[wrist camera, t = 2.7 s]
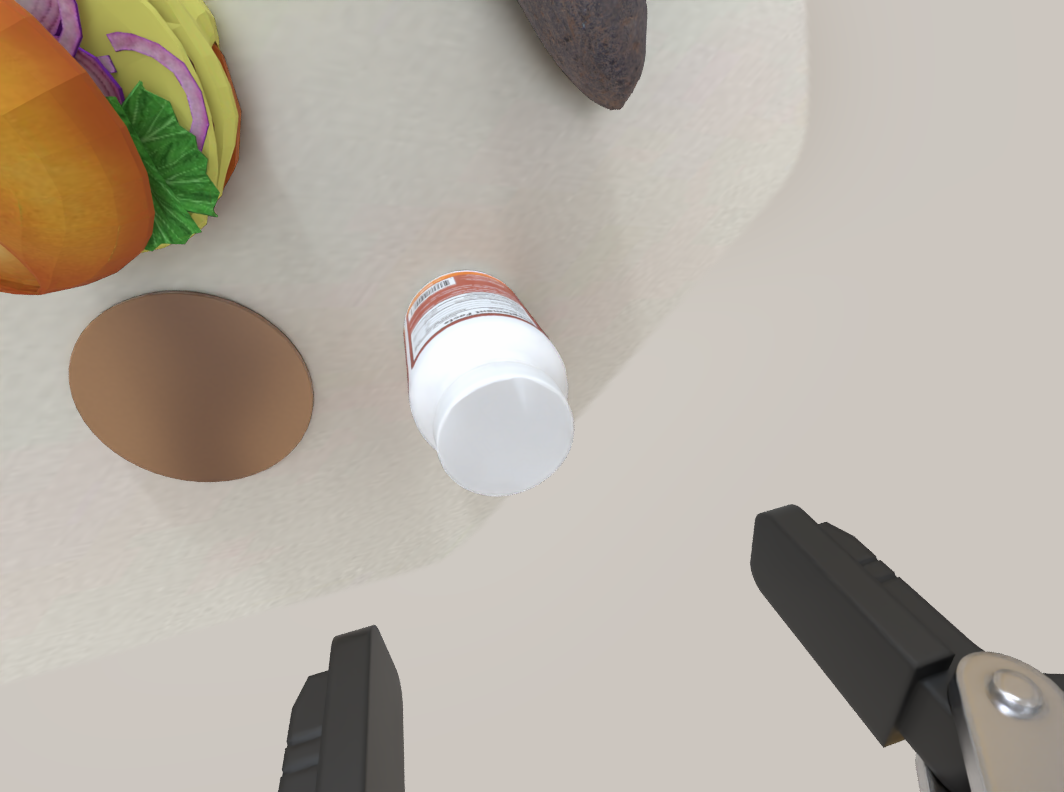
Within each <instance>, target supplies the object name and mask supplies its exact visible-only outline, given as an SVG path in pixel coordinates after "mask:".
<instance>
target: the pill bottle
mask: <svg viewBox="0 0 1064 792" xmlns="http://www.w3.org/2000/svg"><path fill="white" fill-rule="evenodd" d="M404 343H405V353H406V365H407V378H408V394H409V402H410V407H411V411H412V415H413V418H414V420H415V423H416V425H417V427H418V429H419V431H420V433H421V434H422V436H423V437H424V439H425V440H426V441H427V442H428V443H429V444H430V445H431V446H432V447H433V448H434V449H435V450H436V451H437V453H438V457H439V460H440V462H441V464H442V466H443V468H444V470H445V471H446V473H447V474H448V475H449V477H450V478H451V479H452V480H453V481H455V482H456V483H457V484H459V485H460V486H461V487H463V488H465V489H467V490H469V491H471V492H474V493H477V494H481V495H486V496H508V495H513V494H517V493H521V492H524V491H527V490H529V489H531V488H533V487H535V486H537V485H539V484H541V483H542V482H543V481H545V480H546V479H547V478H549V477H550V476H551V475H552V474H553V473H554V472H555V471H556V470H557V469H558V468H559V467H560V466H561V464H562V463H563V461H564V460H565V459H566V457H567V455H568V453H569V451H570V448H571V445H572V442H573V437H574V419H573V415H572V411H571V408H570V406H569V404H568V402H567V400H568V379H567V374H566V369H565V366H564V363H563V360H562V358H561V356H560V354H559V353H558V351H557V350H556V348H555V347H554V345H553V344H552V342H551V341H550V339H549V338H548V337H547V336H546V334H545V333H544V332H543V330H542V329H541V328H540V326H539V325H538V324H537V323H536V321H535V320H534V319H533V317H532V316H531V315H530V313H529V312H528V311H527V309H526V308H525V307H524V306H523V304H522V303H521V302H520V300H519V299H518V298H517V296H516V295H515V294H514V293H513V291H512V290H511V289H510V288H509V287H508V286H506V285H505V284H504V283H503V282H501V281H500V280H498V279H497V278H495V277H493V276H491V275H488V274H485V273H482V272H478V271H470V270H463V271H454V272H450V273H447V274H444V275H441V276H439V277H437V278H435V279H433V280H431V281H430V282H429V283H427V284H426V285H425V286H424V287H423V288H421V289H420V290H419V292H418V293H417V294H416V295H415V297H414V298H413V300H412V301H411V303H410V305H409V307H408V310H407V313H406V316H405V322H404Z"/></svg>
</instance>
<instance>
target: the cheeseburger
mask: <svg viewBox="0 0 1064 792" xmlns="http://www.w3.org/2000/svg"><path fill="white" fill-rule="evenodd" d="M240 125H241V109H240V105H239V102H238V99H237V96H236V93H235V89H234V86H233V83H232V80H231V77H230V73H229V70H228V67H227V64H226V61H225V57H224V55H223V54H222V53H221V51H220V48H219V37H218V32H217V27H216V23H215V18H214V17H213V15H212V14H211V12H210V11H209V9H208V8H207V6H206V5H205V3H204V2H203V0H0V292H5V293H11V294H23V295H42V294H47V293H51V292H56V291H61V290H65V289H70V288H74V287H79V286H83V285H87V284H90V283H93V282H95V281H98V280H100V279H102V278H105V277H107V276H109V275H112V274H114V273H117V272H118V271H119V270H121V269H122V268H123V267H124V266H125V265H127V264H128V263H129V262H130V261H132V260H133V259H134V258H135V257H136V256H138V255H139V254H140V253H143V252H147V251H153V250H156V249H161V248H164V247H167V246H169V245H171V244H185V243H186V242H187V241H188V239H189V238H191V237H192V236H193V235H194V234H196V233H200V232H202V231H201V230H200V229H202V228H203V227H204V226H205V225H206V224H207V218H208V216H213V217H218V215H217V214H216V213H215V212H214V207H215V205H216V202H217V200H218V199H219V198H220V197H221V196H222V192H223V189H224V187H225V186H226V184H227V182H228V180H229V178H230V176H231V175H232V173H233V171H234V169H235V167H236V164H237V162H238V160H239V144H240Z"/></svg>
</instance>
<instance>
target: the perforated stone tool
mask: <svg viewBox="0 0 1064 792" xmlns="http://www.w3.org/2000/svg"><path fill="white" fill-rule="evenodd" d="M517 1H518V3H519V4H520V6H521V8H522V9H523V11H524V13H525V15H526V16H527V18H528V20H529V22H530V23H531V25H532V27H533V29H534V30H535V32H536V34H537V35H538V37H539V39H540V40H541V42H542V43H543V45H544V46H545V48H546V50H547V51H548V52H549V54H550V55H551V56H552V58H553V59H554V61H555V62H556V63H557V64H558V66H559V67H560V68H561V70H562V71H563V72H564V73H565V74H566V75H567V76H568V77H569V79H570V80H571V81H572V82H573V83H574V84H575V85H576V86H577V87H578V88H579V89H580V90H581V91H582V92H583V93H584V94H585V95H586V96H587V97H588V98H590V99H591V100H592V101H594V102H595V103H597V104H599V105H600V106H603V107H605V108H607V109H610V110H614V109H615V110H616V109H617V110H618V109H621V108H622V107H623V106H624V104H625V102H626V101H627V100H628V98H629V97H630V95H631V93H632V92H633V90H634V88H635V86H636V84H637V82H638V80H639V79H640V76H641V73H642V70H643V66H644V61H645V54H646V30H647V4H646V0H517Z"/></svg>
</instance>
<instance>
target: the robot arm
mask: <svg viewBox="0 0 1064 792" xmlns="http://www.w3.org/2000/svg"><path fill="white" fill-rule="evenodd" d="M750 565H751V571H752V575H753V578H754V580H755V582H756V584H757V586H758V588H759V590H760V591H761V593H762V594H763V595H764V596H765V598H766V599H767V600H768V602H769V603H770V604H771V605H772V607H773V608H774V609H775V610H776V612H777V613H778V614H779V615H780V617H781V618H782V619H783V621H784V622H785V623H786V624H787V626H788V627H789V628H790V629H791V631H792V632H793V633H794V634H795V636H796V637H797V638H798V640H799V641H800V642H801V643H802V645H803V646H804V647H805V649H806V650H807V651H808V652H809V654H810V655H811V656H812V657H813V658H814V660H815V661H816V662H817V664H818V665H819V666H820V667H821V669H822V670H823V671H824V673H825V674H826V675H827V676H828V678H829V679H830V680H831V681H832V683H833V684H834V685H835V687H836V688H837V689H838V690H839V692H840V693H841V694H842V695H843V697H844V698H845V699H846V701H847V702H848V703H849V704H850V706H851V707H852V708H853V709H854V711H855V712H856V713H857V714H858V716H859V717H860V718H861V720H862V721H863V722H864V723H865V725H866V726H867V727H868V728H869V730H870V731H871V732H872V734H873V735H874V736H875V737H876V739H877V740H878V741H879V742H880V744H881V745H882V746H883V747H886V746H889V745H891V744H894V743H897V742H900V741H902V740H906V741H907V742H908V743H909V744H910V745H911V747H912V748H913V749H914V750H915V752H916V753H917V754H916V759H915V761H916V770H917V776H918V781H919V788H920V792H1064V674H1046V673H1041V672H1040V671H1038V670H1037V669H1035V668H1034V667H1032V666H1030V665H1028V664H1026V663H1024V662H1022V661H1020V660H1018V659H1015V658H1013V657H1010V656H1007V655H1004V654H1000V653H994V652H985V651H984V650H982V649H981V648H979V647H978V646H977V645H975V644H974V643H973V642H972V641H971V640H969V639H968V638H967V637H966V636H965V635H964V634H963V633H961V632H960V631H959V630H958V629H957V628H956V627H955V626H953V624H951V623H950V622H949V621H948V620H947V619H946V618H945V617H944V616H942V615H941V614H940V613H939V612H938V611H937V610H936V609H935V608H933V607H932V606H931V605H930V604H929V603H928V602H927V601H926V600H925V599H923V598H922V597H921V596H920V595H919V594H918V593H917V592H916V591H915V590H913V589H912V588H911V587H910V586H909V585H908V584H907V583H905V582H904V581H903V580H902V579H901V578H900V577H896V576H895V573H894V572H893V571H892V570H891V569H890V568H889V567H888V566H887V565H885V564H884V563H883V562H882V561H881V560H879V561H878V560H877V558H876V556H875V555H874V554H873V553H872V552H871V551H870V550H869V549H867V548H866V547H865V546H864V545H863V544H862V543H861V542H860V541H858V539H856V538H855V537H854V536H852V535H850V534H849V533H847V532H845V531H843V530H841V529H839V528H837V527H835V526H833V525H831V524H829V523H827V522H824V523H821V524H817V523H816V522H815V521H814V520H813V519H812V518H811V517H810V516H809V515H808V514H807V513H806V512H805V511H804V510H802V509H801V508H800V507H798V506H796V505H793V504H791V505H787V506H784V507H780V508H777V509H773V510H770V511H767V512H763V513H760V514H758V515H757V516H756V519H755V526H754V535H753V543H752V553H751V561H750ZM287 745H288V746H287V748H286V749H285V754H284V761H283V767H282V771H283V775H282V777H281V778H280V785H279V790H278V792H405V786H404V740H403V701H402V691H401V686H400V681H399V676H398V673H397V670H396V668H395V665H394V663H393V661H392V659H391V657H390V654H389V652H388V650H387V648H386V645H385V643H384V641H383V638H382V636H381V634H380V632H379V630H378V628H377V626H376V625H372V626H369V627H366V628H362V629H359V630H355V631H352V632H348V633H345V634H341V635H338V636H335V637H334V639H333V641H332V646H331V653H330V662H329V670H328V671H325V672H321V673H318V674H315V675H312V676H309V677H308V679H307V681H306V683H305V685H304V687H303V688H302V690H301V692H300V694H299V696H298V698H297V700H296V702H295V704H294V706H293V708H292V713H291V718H290V724H289V730H288V737H287Z"/></svg>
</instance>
